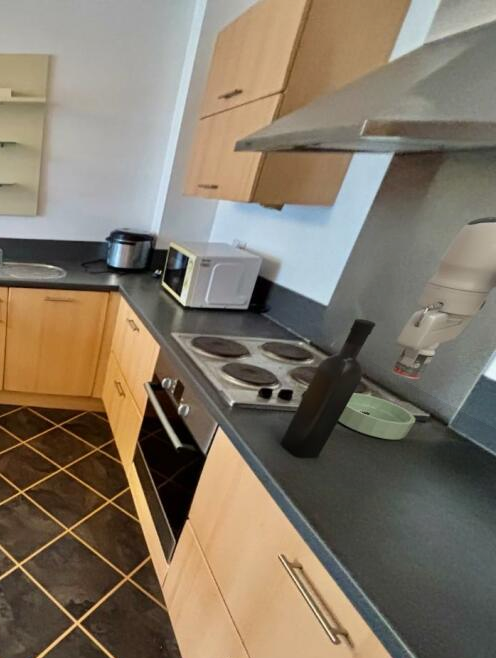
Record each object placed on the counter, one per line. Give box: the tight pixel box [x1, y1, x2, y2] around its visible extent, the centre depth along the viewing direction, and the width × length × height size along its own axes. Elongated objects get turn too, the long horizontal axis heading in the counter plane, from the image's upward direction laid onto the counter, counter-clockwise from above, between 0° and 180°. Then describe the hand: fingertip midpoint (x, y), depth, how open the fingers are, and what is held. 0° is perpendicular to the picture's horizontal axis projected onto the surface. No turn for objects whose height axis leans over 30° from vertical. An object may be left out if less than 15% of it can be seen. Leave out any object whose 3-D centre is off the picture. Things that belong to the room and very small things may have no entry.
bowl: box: [338, 392, 416, 441], centre depth 102 cm, size 15×15×5 cm
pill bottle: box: [391, 343, 440, 380], centre depth 90 cm, size 5×5×8 cm
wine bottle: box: [280, 318, 376, 458], centre depth 84 cm, size 6×6×30 cm
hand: (413, 362), depth 91 cm, fingers closed on pill bottle, 5 cm apart
